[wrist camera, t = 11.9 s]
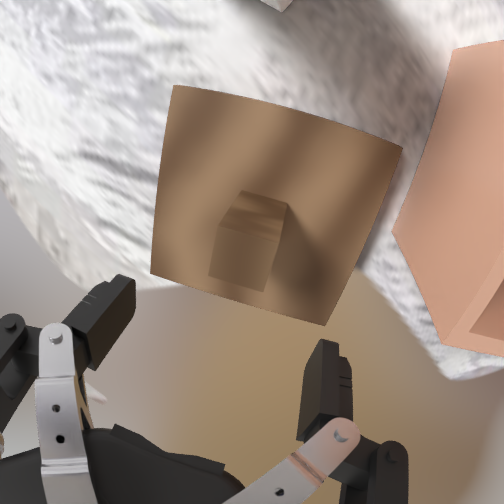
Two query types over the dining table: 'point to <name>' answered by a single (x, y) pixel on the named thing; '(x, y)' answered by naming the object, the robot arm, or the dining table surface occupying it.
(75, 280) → the dining table surface
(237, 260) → the lid
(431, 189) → the tan open box
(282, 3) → the milk carton
